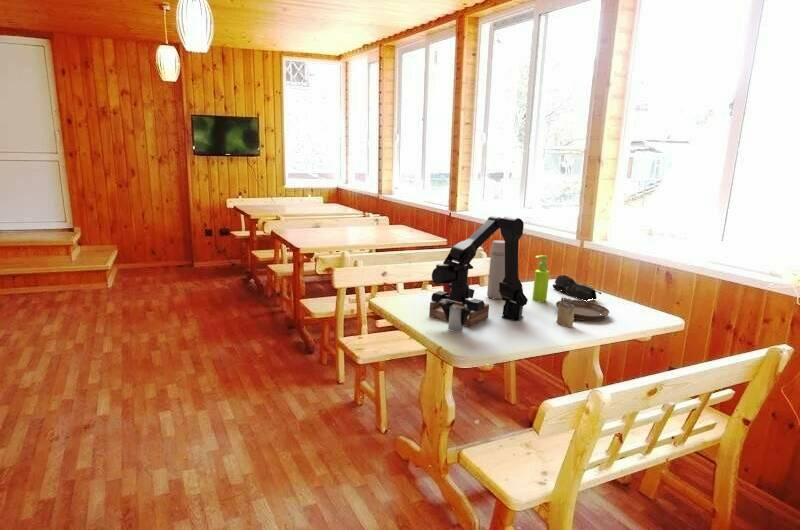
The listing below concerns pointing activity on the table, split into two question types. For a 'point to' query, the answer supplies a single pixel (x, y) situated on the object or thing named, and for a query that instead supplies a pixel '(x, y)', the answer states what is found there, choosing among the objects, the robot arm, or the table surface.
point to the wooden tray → (472, 317)
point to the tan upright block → (565, 312)
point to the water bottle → (496, 269)
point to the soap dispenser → (541, 280)
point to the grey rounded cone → (455, 318)
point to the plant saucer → (588, 310)
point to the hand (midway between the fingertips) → (455, 323)
